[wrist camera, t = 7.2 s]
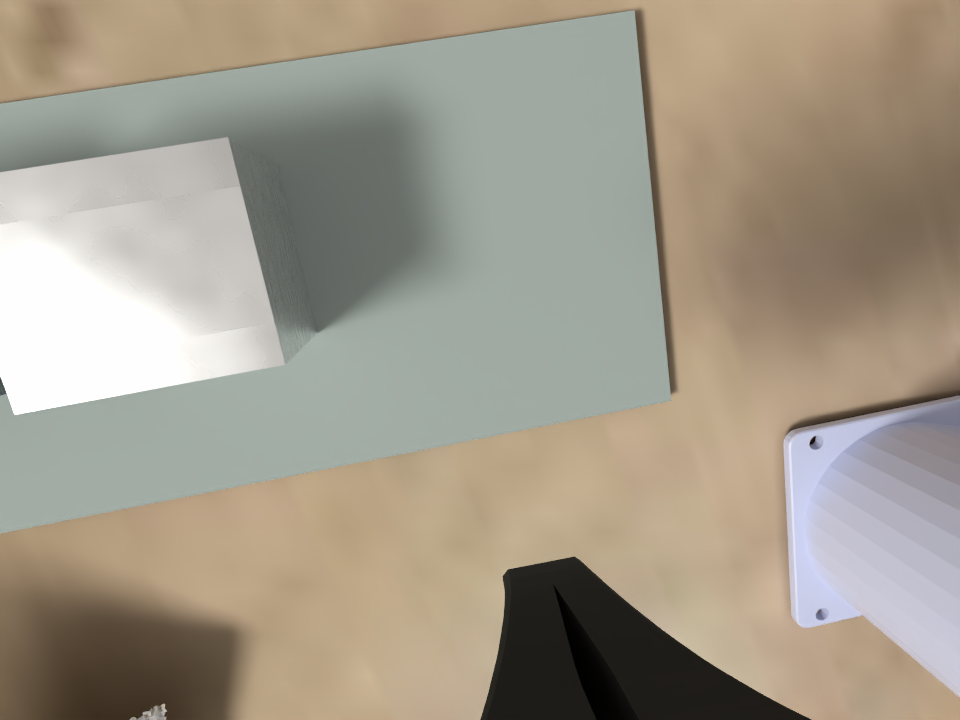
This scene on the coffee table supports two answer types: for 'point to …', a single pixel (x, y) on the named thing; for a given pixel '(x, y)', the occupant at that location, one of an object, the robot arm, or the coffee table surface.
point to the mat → (383, 261)
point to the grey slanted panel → (153, 714)
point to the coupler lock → (146, 273)
